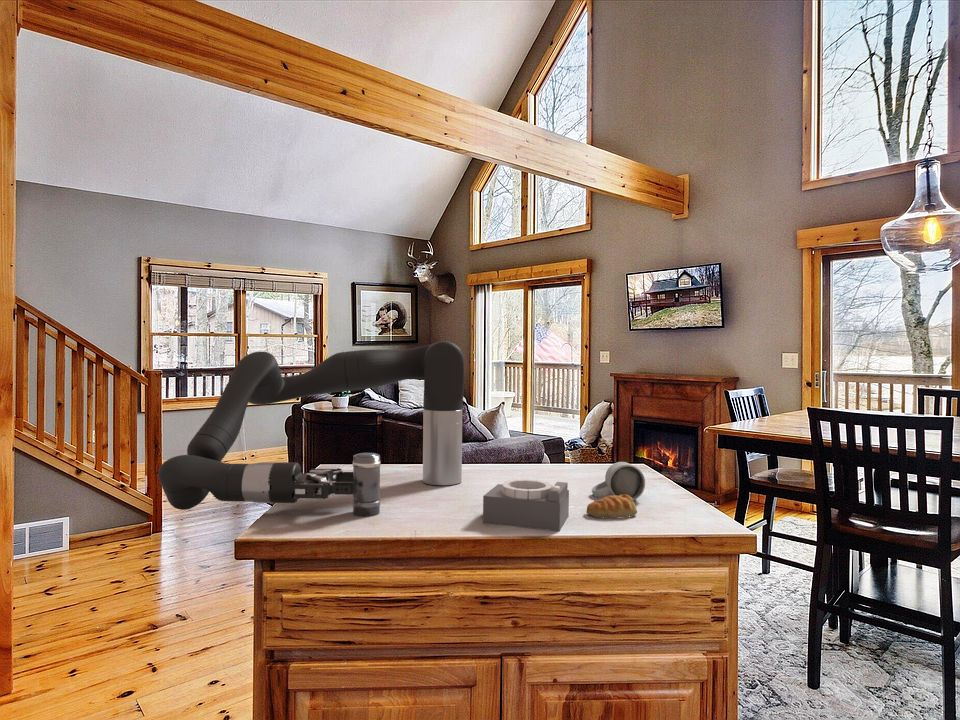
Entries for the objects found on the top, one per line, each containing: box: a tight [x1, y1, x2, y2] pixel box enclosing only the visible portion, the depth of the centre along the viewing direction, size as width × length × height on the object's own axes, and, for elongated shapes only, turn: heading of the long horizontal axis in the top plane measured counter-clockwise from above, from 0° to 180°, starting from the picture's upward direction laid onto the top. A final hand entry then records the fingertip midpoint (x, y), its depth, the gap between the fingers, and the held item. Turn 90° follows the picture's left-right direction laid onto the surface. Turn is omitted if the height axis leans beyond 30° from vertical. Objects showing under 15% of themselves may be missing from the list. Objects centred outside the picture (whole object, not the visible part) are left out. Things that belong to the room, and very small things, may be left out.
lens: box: [352, 452, 381, 517], centre depth 115 cm, size 5×5×11 cm
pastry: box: [585, 494, 638, 519], centre depth 116 cm, size 9×7×4 cm
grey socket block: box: [482, 478, 570, 532], centre depth 111 cm, size 10×14×7 cm
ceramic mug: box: [591, 461, 646, 501], centre depth 130 cm, size 11×8×8 cm
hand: (358, 482), depth 114 cm, fingers open, 8 cm apart
